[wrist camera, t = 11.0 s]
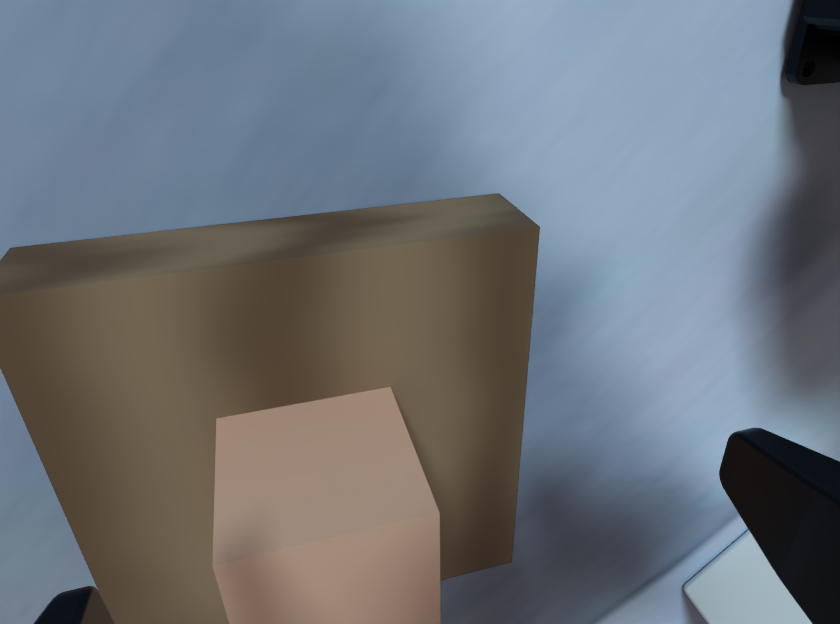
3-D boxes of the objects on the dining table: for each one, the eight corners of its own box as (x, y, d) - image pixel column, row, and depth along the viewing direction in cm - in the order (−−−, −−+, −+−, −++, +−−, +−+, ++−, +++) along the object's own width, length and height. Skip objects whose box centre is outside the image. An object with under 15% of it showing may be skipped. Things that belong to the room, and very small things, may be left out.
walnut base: (499, 193, 19) (539, 226, 17) (484, 504, 26) (511, 561, 24) (10, 247, 16) (-30, 299, 14) (140, 585, 23) (129, 660, 21)
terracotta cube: (390, 386, 18) (439, 513, 14) (397, 505, 21) (440, 643, 16) (216, 418, 17) (212, 566, 13) (246, 540, 19) (250, 697, 15)
